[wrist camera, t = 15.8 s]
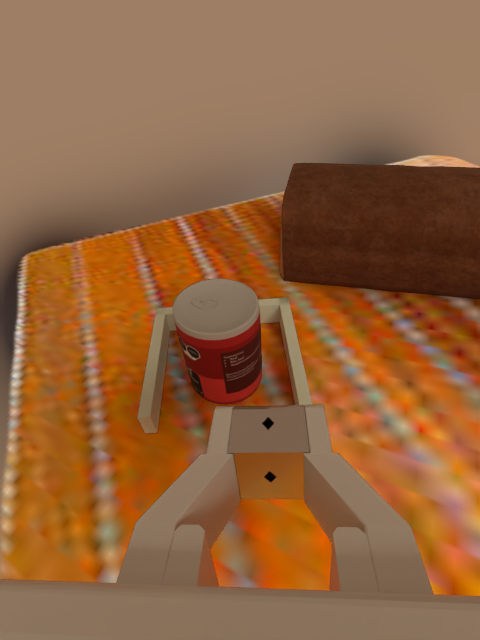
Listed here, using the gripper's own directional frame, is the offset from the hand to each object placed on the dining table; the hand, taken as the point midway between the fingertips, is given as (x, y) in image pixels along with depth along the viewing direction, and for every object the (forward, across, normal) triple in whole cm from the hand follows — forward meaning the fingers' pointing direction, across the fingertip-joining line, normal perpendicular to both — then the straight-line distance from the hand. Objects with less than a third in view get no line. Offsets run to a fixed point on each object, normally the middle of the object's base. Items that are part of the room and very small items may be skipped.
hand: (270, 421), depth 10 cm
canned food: (+23, +6, +18) cm, 30 cm away
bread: (+43, -21, +14) cm, 50 cm away
